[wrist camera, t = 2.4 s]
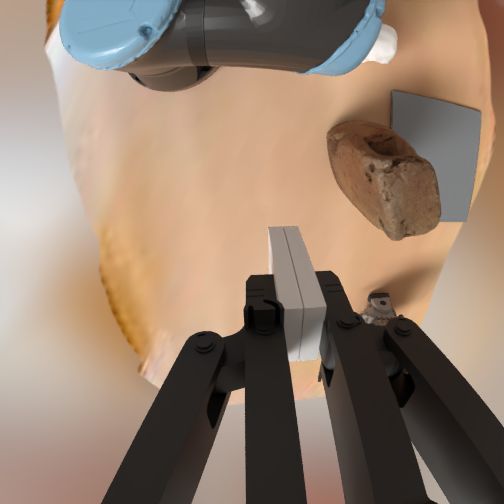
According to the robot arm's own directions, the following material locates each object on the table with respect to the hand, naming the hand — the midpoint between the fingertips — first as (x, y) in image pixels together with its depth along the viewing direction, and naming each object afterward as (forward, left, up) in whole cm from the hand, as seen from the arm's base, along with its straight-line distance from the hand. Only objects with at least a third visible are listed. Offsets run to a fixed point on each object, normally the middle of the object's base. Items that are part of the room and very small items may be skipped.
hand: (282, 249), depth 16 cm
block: (0, +14, -30) cm, 32 cm away
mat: (0, +31, -29) cm, 42 cm away
